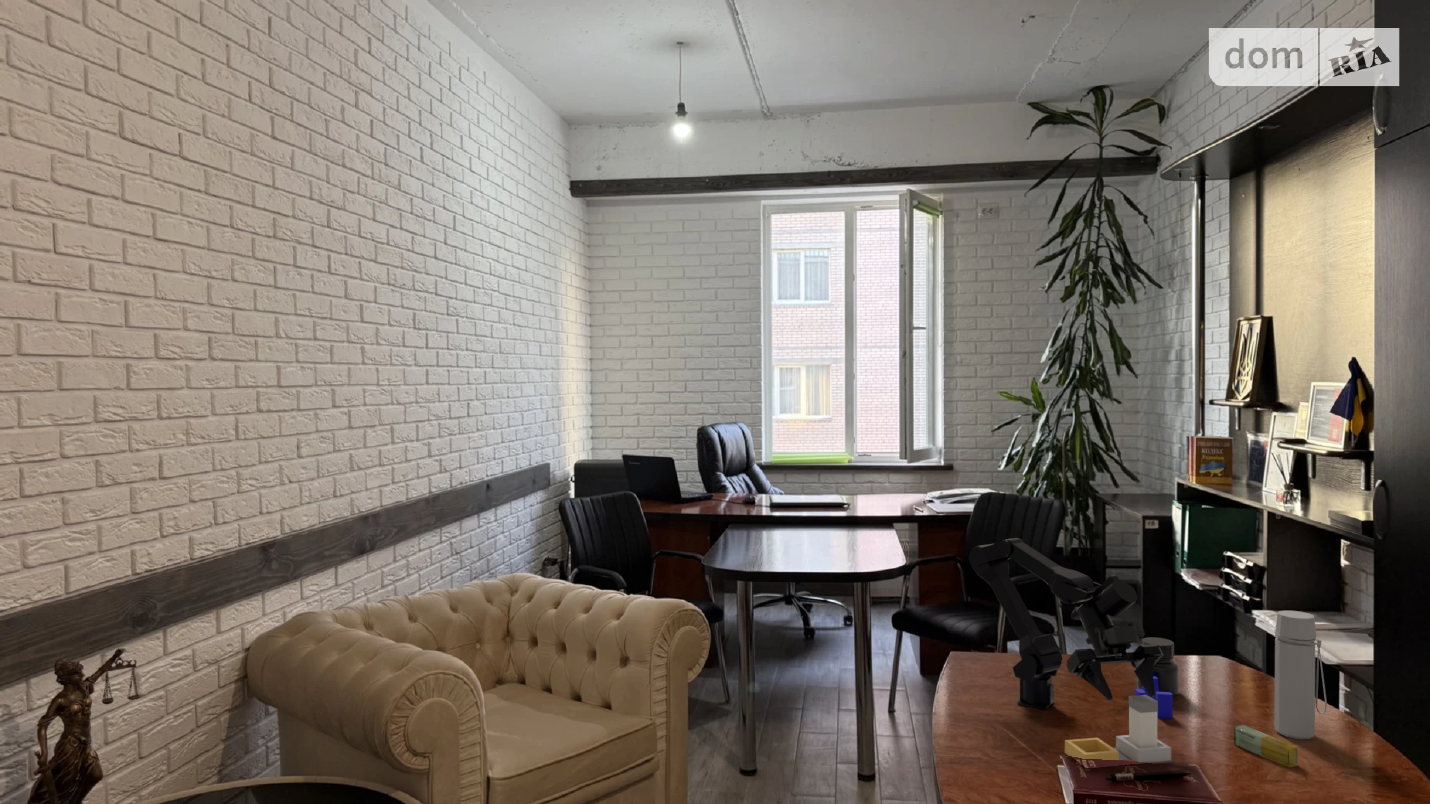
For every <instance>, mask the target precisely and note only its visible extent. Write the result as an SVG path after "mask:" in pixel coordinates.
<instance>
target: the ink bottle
mask: <svg viewBox="0 0 1430 804" xmlns="http://www.w3.org/2000/svg"><path fill="white" fill-rule="evenodd" d="M1150 644H1155V645H1157V646H1158V647H1159V648H1160V650H1161V652H1162V653H1163V656H1162V657H1161V658H1160V659H1159V661H1158V662H1157V663H1156V664H1155V665H1154V667H1153V676H1155V677H1157V678H1158V686H1159V692H1171V694H1172V695H1173V697H1176V696H1178V694H1179V693H1180V689H1179V688H1180V667H1179V665H1178V664H1177V663H1176V662H1175V661H1174V659H1175V642H1174V641H1172V640H1171V639H1167V638H1162V637H1155V636H1154V637H1151V636H1150V637H1145V638H1144V637H1143V638H1141V645H1150ZM1136 677H1137V676H1136ZM1136 679H1137V680H1136V685H1137V688H1136V689H1142V683H1141V682H1140V680H1139V679H1138V677H1137V678H1136Z"/></svg>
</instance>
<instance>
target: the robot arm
mask: <svg viewBox="0 0 1430 804" xmlns="http://www.w3.org/2000/svg"><path fill="white" fill-rule="evenodd" d="M1010 559H1011V560H1013V561H1014V562H1015V563H1017V564H1018V565H1020V566H1021V567H1023V568H1024V569H1026V570H1027V571H1029V572H1030V573H1032V574H1033V575H1035V576H1036V577H1037V578H1039V579H1041V580H1042V581H1043V582H1045V583H1046V584H1047V585H1048V587H1049V589H1050V591H1051V593H1053V595H1055V596H1056V597H1057V598H1058V599H1059V600H1060V601H1061V602H1062V603H1064V604H1065V605H1072V604H1078V603H1082V602H1083V603H1082V604H1080V606H1074V607H1073V611H1072V612H1071V614H1070V619H1071V620H1076V621H1080V622H1081V623H1082V626H1083V628H1084V630H1085V632H1086V635H1087V637H1086V639H1085V641H1086V644H1087V645H1091V646H1092V648H1080V649H1079V648H1078V649H1075V650H1074V651H1073V652H1072V653H1071V655H1070V656H1069V657H1068V659H1067V661H1066V668H1067V670H1068V672H1069V674H1070V675H1076V676H1077V678H1082V679H1083V680H1084V681H1085V682H1086V683H1088V684H1089V685H1091V687H1093V688H1094V689H1096V691H1098V692H1099V693H1100V694H1102V696H1103V697H1104V698H1105V699H1107V700H1108V701H1112V700H1113V699H1114V697H1113V695H1112V691H1111V689H1110V687H1109V685H1108V683H1107V680H1106V679H1105V676H1104V674H1103V672H1102V666H1101V665H1109V664H1110V665H1111V664H1122V663H1125V664H1126V663H1130V664H1131V666H1132V668H1135V670H1134V671H1133V672H1134V674H1135V675H1136V677H1138V679H1139V680H1140V682H1141V683H1142V685H1143V687H1144V688H1145V690H1146V691H1147V693H1148V694H1149V695H1150V697H1154V696H1155V689H1154V679H1153V667H1154V665H1155V664H1156V663H1157V662H1158V661H1159V659H1160V658H1161V657H1162V656H1163V653H1162V652H1161V650H1160V648H1159V647H1158V646H1157V645H1155V644H1150V645H1142V644H1140V645H1138V646H1137V647H1136V648H1135V649H1134V651H1132V652H1131V651H1128V652H1127V650H1130V648H1131V647H1132V645H1131V643H1139V642H1140V639H1143V638H1144V637H1145V630H1144V628H1143V626H1142V624H1141V623H1140V621H1132V622H1130V623H1127V625H1121V626H1120V625H1119V624H1114V623H1113V620H1112V619H1111V617H1114V618H1115V617H1118V616H1120V615H1122V614H1123V612H1125V611H1126V610H1127V609H1129V608H1130V607H1131V606H1132V605H1134V604H1135V603H1136V602H1137V601H1138V594H1137V591H1136V590H1135V588H1134V587H1133V586H1131V585H1130V584H1129V583H1128V582H1126V581H1124V580H1123V579H1120V578H1119V577H1118V576H1117V574H1114V575H1110V576H1108V577H1107V578H1105V581H1103V583H1102V584H1100V583H1098V582H1096V581H1094V580H1093V579H1092V578H1091V577H1090V576H1088V575H1086V574H1084V573H1082V572H1080V571H1077V570H1075V569H1071V568H1067V567H1066V568H1065V567H1063V566H1061V565H1059V564H1057V563H1056V562H1054V561H1053V560H1051V559H1050V558H1048V557H1046V556H1045V554H1042V553H1041V552H1039V551H1038V550H1036V549H1034V548H1033V547H1031V546H1030V545H1028V544H1026V543H1025V541H1024V540H1023V539H1021V538H1019V537H1014V538H1008V539H1003V540H1002V541H999V542H995V543H991V544H989V543H988V544H982V545H976V546H973V547H972V548H970V552H969V557H968V561H969V564H970V565H971V566H970V567H972V568H973V569H972V570H974V571H975V573H976V575H978V577H980V578H981V579H983V580H984V581H985V582H986V583H987V584H989V585H990V587H991V589H992V591H993V593H994V595H995V596H996V599H997V601H998V603H999V604H1000V607H1001V608H1002V610H1003V611H1004V613H1005V616H1006V617H1007V620H1008V621H1009V623H1010V625H1011V627H1012V628H1013V630H1014V632H1015V634H1016V636H1017V639H1018V645H1019V646H1018V653H1019V656H1020V658H1021V659H1020V661H1018V663H1016V664H1014V666H1013V667H1012V670H1013V674H1014V677H1015V678H1018V679H1019V699H1018V700H1017V701H1016V702H1017V704H1018V705H1020V706H1021V705H1022V706H1025V707H1030V708H1031V707H1032V708H1037V709H1040V710H1047V709H1048V708H1049V707H1050V706H1051V705H1052V704H1053V703H1054V702H1055V693H1054V692H1055V686H1054V684H1053V683H1052V677H1055V676H1057V673H1058V671H1059V669H1060V668H1061V666H1062V662H1063V656H1062V653H1061V651H1062V648H1061V647H1060V646H1059V644H1058V643H1057V641H1056V639H1055V637H1054V636H1053V634H1052V633H1048V634H1044V633H1043V632H1042V631H1041V630H1040V629H1039V628H1038V626H1037V623H1035V620H1034V619H1033V617H1032V615H1031V613H1030V612H1029V609H1028V607H1027V606H1026V604H1025V602H1024V600H1023V598H1022V597H1021V594H1020V593H1019V591H1018V589H1017V587H1016V585H1015V584H1014V582H1013V580H1012V578H1011V577H1010V576H1011V575H1010V571H1009V570H1010V563H1009V560H1010ZM1091 599H1092V600H1091Z"/></svg>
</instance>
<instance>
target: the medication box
mask: <svg viewBox="0 0 1430 804" xmlns="http://www.w3.org/2000/svg"><path fill="white" fill-rule="evenodd" d="M1233 738H1234V739H1233V740H1234V742H1233V743H1234V746H1237V747H1239V746H1240V747H1239V748H1241V749H1245V750H1247V751H1248V752H1251V753H1253V754H1255V755H1258V754H1259V755H1258V756H1261V757H1263V756H1264V757H1263V758H1265V757H1266V759H1267V758H1268V760H1270V761H1272V760H1274V761H1275V763H1277V764H1279V763H1280V764H1279V765H1281V764H1282V765H1281V766H1284V767H1287V768H1289V767H1290V768H1294V767H1297V766H1298V746H1297V745H1294V744H1292V743H1289V742H1286V741H1284V740H1281V739H1279V738H1276V737H1275V736H1271V735H1269V734H1267V733H1264V732H1262V731H1260V730H1257V729H1254V728H1252V727H1249V726H1247V725H1245V724H1237V725H1235V726H1233ZM1274 761H1273V762H1274Z"/></svg>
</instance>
